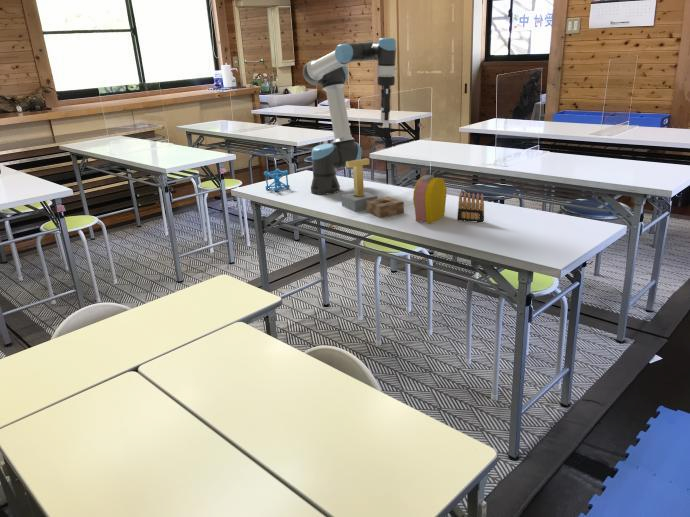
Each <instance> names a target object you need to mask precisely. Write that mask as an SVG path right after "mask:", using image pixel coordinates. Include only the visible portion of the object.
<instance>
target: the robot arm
mask: <svg viewBox="0 0 690 517" xmlns="http://www.w3.org/2000/svg"><path fill="white" fill-rule="evenodd" d="M396 53H397V40H396V38H394V37H380V38H378V42H376V41H375V42H374V41H365V42H353V43H347V42H344V43H342V44H337V45H336V48H335V49H334V50H333V51H332V52H330V53H328V54H326V55H324V56H321V57H320V58H318V59H312V60H310V61H308V62H306V63H305V64H304V66H303V68H302V76H303V77H304V79H305V81H306V82H307V83H308V84H310V85H313V86H321V87H322V88H321V89H322V91H325V92H326V98H327V104H328V109H329V110H328V111H329V114H330V121H331V126H332V131H333V136H334V137H333V138H334V140H333V141H332V143H323V144H322V143H321V144H318V145H316V146H314V147H312V149H311V156H310V157H311V163H312V181H311V185H310V193H312V192H313V193H312V194H314V193H319V194H318V195H328V194H327V193H332V194H335V193H334V192H336V193H338V192H340V191H339V190H341V185H340V183H339V181H338V178H337V174H336V173H337V172H336V170H338V169H342V168H347V167H346V162H347V161H353V160H359V159H362V147H361V146H360V144H359V143H358V142H356V139H355V138H354V137H353V136H352V134H351V129H350V128H351V127H350V122H349V118H348V111H347V107H346V101H345V95H344V87H345V86H346V84H345V83H346V82H347V80H348V76H349V74H348V73H349V72H348V68H347V66H346V65H348V64H350V63H353V62H354V63H355V62H367V61H368V62H369V61H377V82H376V83H377V85H378V86H381V88H380V89H381V90H380V98H381V99H380V107H381V108H380V123H382V129H384V128H386V129H388V128H389V129H390V112H391V108H390V107H391V88H390V87H391V86H395V81H396V78H395V73H396V71H397V67H396V57H397V56H396V55H397V54H396ZM337 191H338V192H337Z"/></svg>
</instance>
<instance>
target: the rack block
mask: <svg viewBox="0 0 690 517" xmlns="http://www.w3.org/2000/svg"><path fill="white" fill-rule="evenodd" d="M374 199H378V196H377V195H375V194H374V193H373V194H372V193H370V192H367V191H365V190H364V196H363V197H358V198H357V197H355V196H354V192H351V193H347V194H342V195H341V206H342V207H344V206H345V207H344V208H346V207H347V208H346V209H348V208H349V209H348V210H350V211H353V210H354V211H353V212H358V211H359V210H360V211H363V210H366V201H369V200H374ZM360 211H359V212H360Z"/></svg>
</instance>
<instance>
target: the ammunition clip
mask: <svg viewBox="0 0 690 517" xmlns="http://www.w3.org/2000/svg"><path fill="white" fill-rule="evenodd" d="M458 195H459V196H458V205H457V206H458V208H457V218H456V220H457V221H459V220H462V221H461V222H469V221H477V222H476V223H479V222H483V221H484V222H485V201H484V200H485V199H484V194H483V193H481V195H480V194H479V192H478V193H477V194H476V195H475V193H474V192H473V193H472V195H471V193H470V192H469V191H468V193H466V192H463V193H462V191H460V192H459V194H458ZM464 220H465V221H464ZM484 222H483V223H484Z"/></svg>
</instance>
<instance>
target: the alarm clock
mask: <svg viewBox="0 0 690 517" xmlns="http://www.w3.org/2000/svg"><path fill="white" fill-rule="evenodd" d="M412 196H413V197H412V198H413V199H412V200H413V207H414V214H415V216H414V217H415V222H418V221H422V222H421V223H425V222H428V223H427V224H434V223H436V222H438V221H439V220H440V219H442V218H443V216H444V217H445V212H446V202H447V185H446V182H445V180H444V179H443V178H442V177H435V175H433V174H424V175H422V176H421V177H420V178H418V180H417V181H416V183H415V185H414V189H413V195H412ZM438 219H439V220H438ZM435 221H436V222H435ZM433 222H434V223H433Z"/></svg>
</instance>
